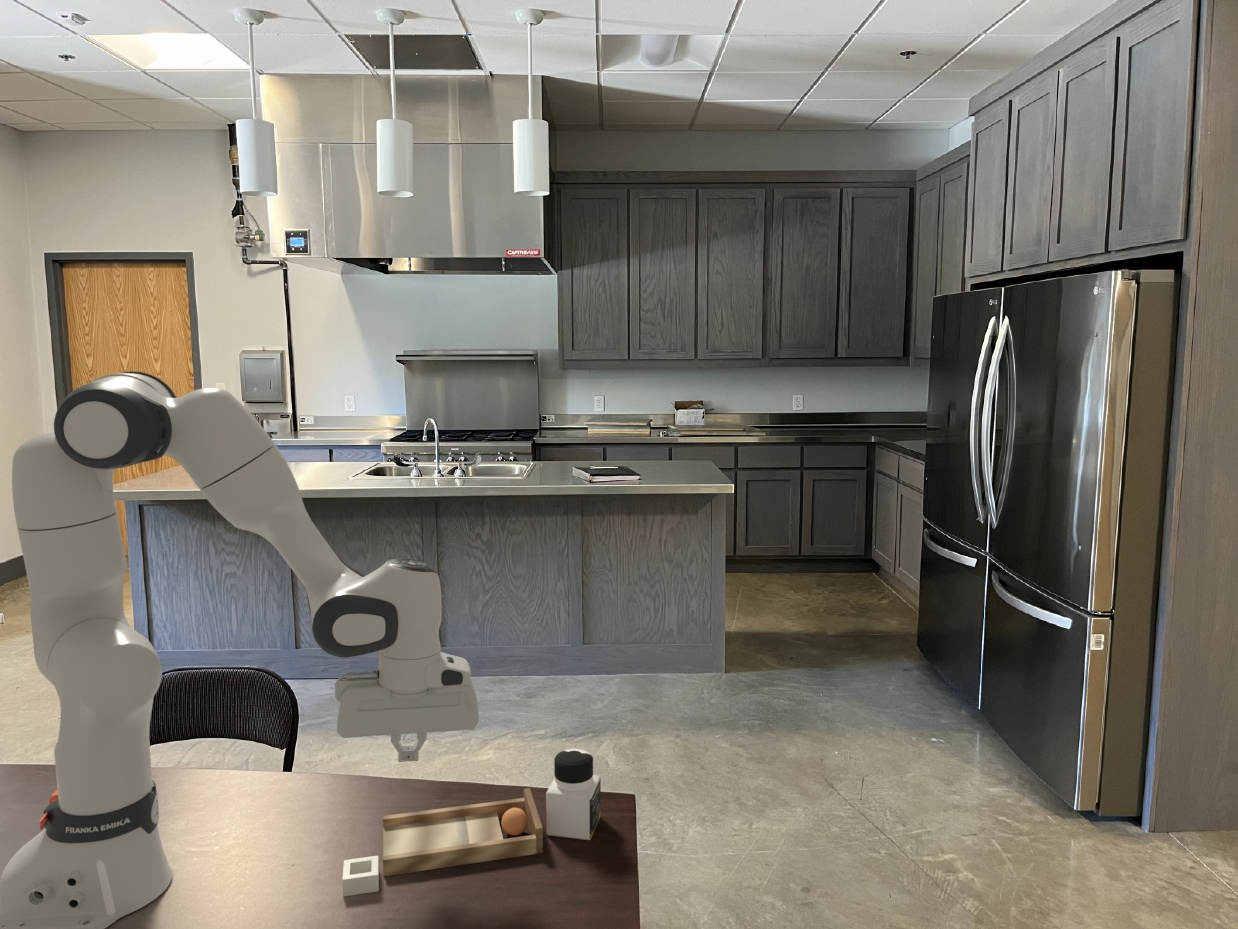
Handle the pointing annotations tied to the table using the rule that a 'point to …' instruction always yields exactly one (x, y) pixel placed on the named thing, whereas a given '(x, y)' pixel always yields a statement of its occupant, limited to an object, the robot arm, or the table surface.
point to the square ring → (360, 876)
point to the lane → (456, 836)
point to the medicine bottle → (573, 796)
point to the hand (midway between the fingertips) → (408, 760)
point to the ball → (514, 821)
